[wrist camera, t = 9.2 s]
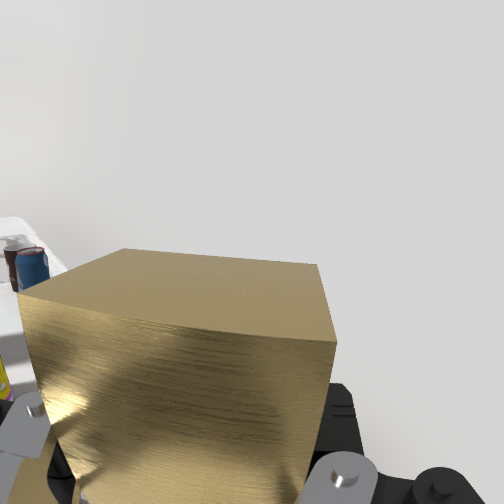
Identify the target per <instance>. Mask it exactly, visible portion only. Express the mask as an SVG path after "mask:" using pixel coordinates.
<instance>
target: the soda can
mask: <svg viewBox="0 0 504 504" xmlns="http://www.w3.org/2000/svg"><path fill="white" fill-rule="evenodd" d="M15 265H16V274H17V281H18V288H19V292H21V291H23V290H25V289H27V288H30V287H32V286H34V285H37V284H39V283H41V282H43V281H46V280H48V279H50V276H49V266H48V257H47V255H46V253H45V252H44V248H42V247H28V248H23V249H20V250H18V251H17V256H16V260H15Z"/></svg>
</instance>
